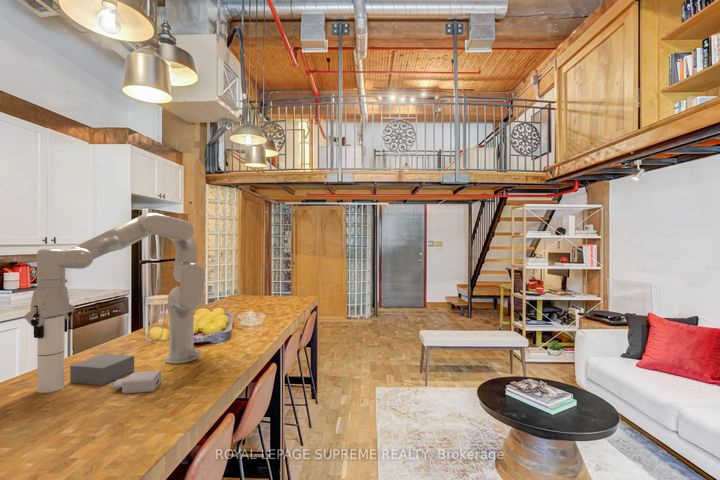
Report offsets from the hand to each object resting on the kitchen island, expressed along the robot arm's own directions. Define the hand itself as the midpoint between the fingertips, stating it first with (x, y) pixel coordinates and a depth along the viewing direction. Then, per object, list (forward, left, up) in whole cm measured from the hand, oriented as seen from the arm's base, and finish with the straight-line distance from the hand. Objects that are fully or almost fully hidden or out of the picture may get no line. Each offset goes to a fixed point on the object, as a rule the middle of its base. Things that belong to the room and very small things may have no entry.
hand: (51, 334), depth 126 cm
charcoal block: (-8, -13, -19) cm, 24 cm away
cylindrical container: (0, 0, -19) cm, 19 cm away
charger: (-28, -6, -19) cm, 35 cm away
